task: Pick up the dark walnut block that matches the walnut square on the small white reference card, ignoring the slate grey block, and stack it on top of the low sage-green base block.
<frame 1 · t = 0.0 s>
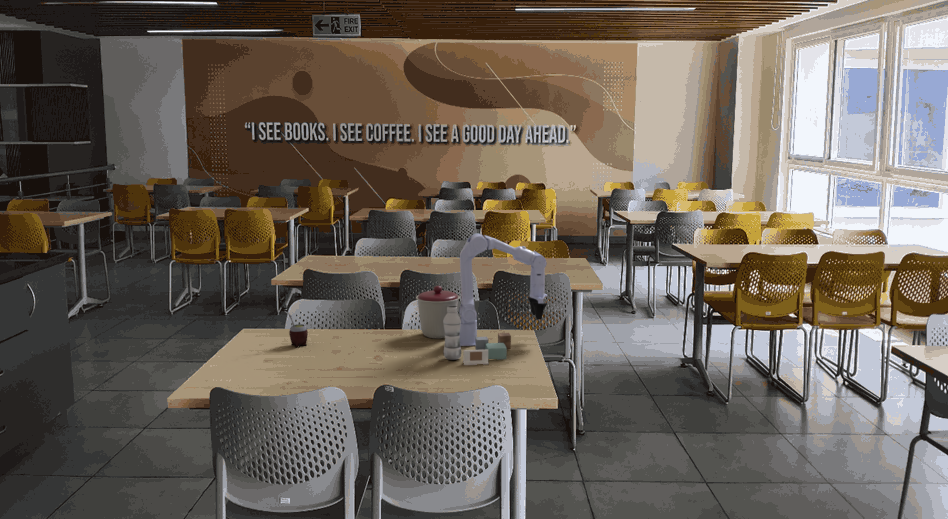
hand: (536, 317, 287), 10 cm above the table, tool pointing down, fingers open, 7 cm apart
reference card: (475, 363, 259), on the table
base block: (495, 357, 268), on the table
grey block: (481, 352, 273), on the table
canister: (438, 335, 296), on the table
walnut block: (504, 348, 279), on the table
mate gourd: (298, 346, 281), on the table
plastic bottle: (452, 359, 264), on the table
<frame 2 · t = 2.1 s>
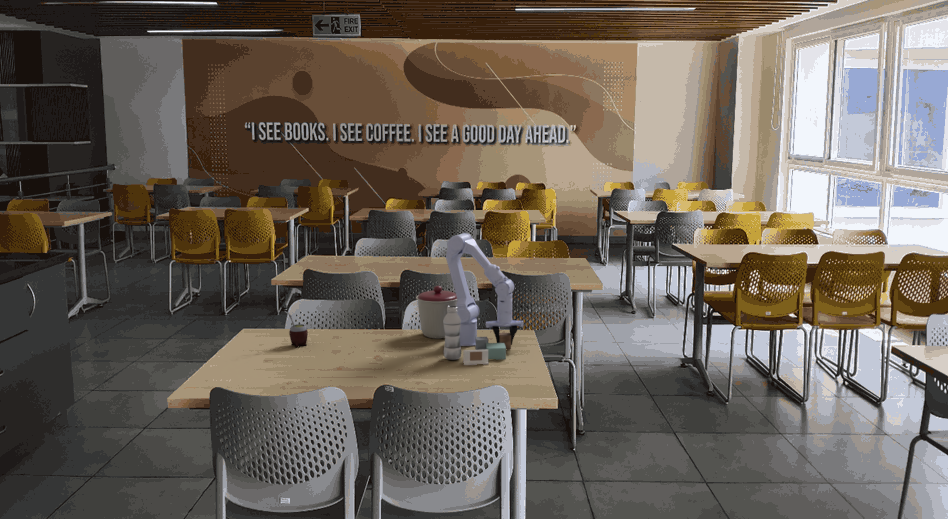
hand: (504, 344, 278), 1 cm above the table, tool pointing down, fingers closed on walnut block, 4 cm apart
walnut block: (504, 348, 279), on the table, touching gripper
everything else where it was.
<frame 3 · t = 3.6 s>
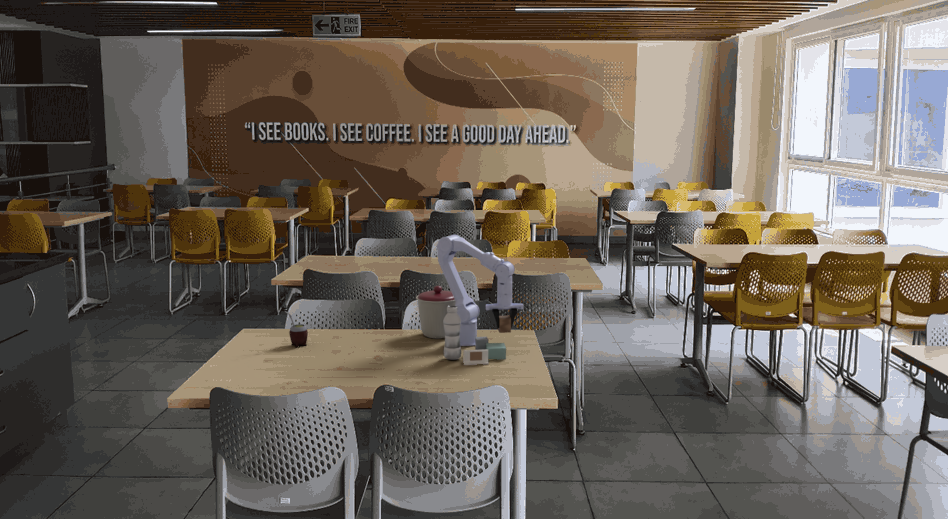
hand: (504, 327, 277), 8 cm above the table, tool pointing down, fingers closed on walnut block, 4 cm apart
walnut block: (504, 331, 277), point 7 cm above the table, touching gripper
everything else where it was.
when the fingers open (7 cm above the table, at t = 5.1 s): walnut block drops 1 cm, resting on base block.
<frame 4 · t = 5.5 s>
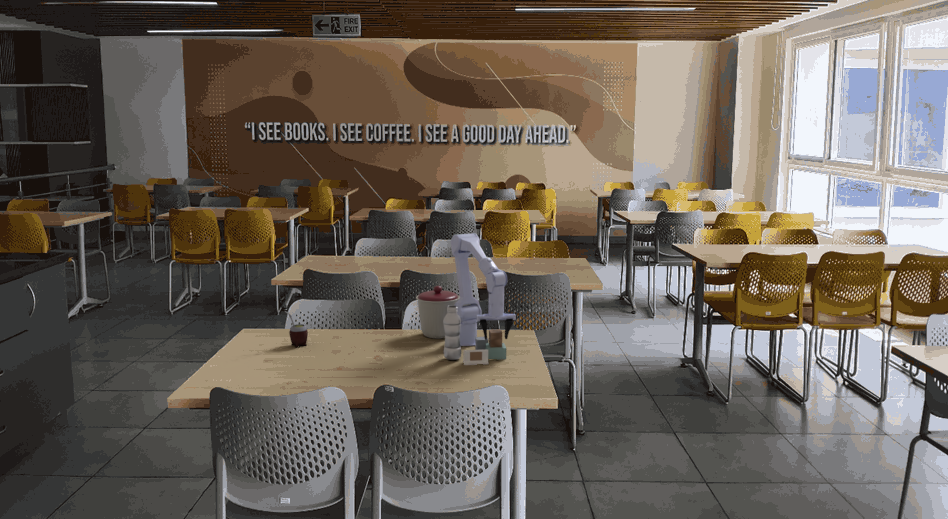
hand: (495, 338, 267), 7 cm above the table, tool pointing down, fingers open, 7 cm apart
base block: (495, 357, 268), on the table, touching walnut block
walnut block: (495, 345, 267), point 4 cm above the table, touching base block
everything else where it was.
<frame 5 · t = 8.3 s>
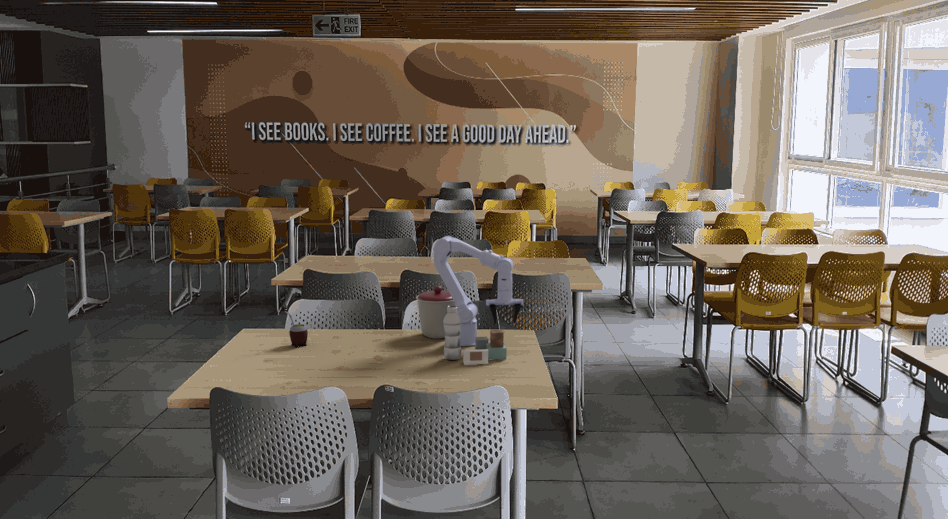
hand: (504, 322, 280), 9 cm above the table, tool pointing down, fingers open, 7 cm apart
base block: (495, 357, 268), on the table
walnut block: (496, 345, 267), point 4 cm above the table
everything else where it was.
at the end: walnut block 0.3 cm off-centre on the base block, point 4.5 cm above the base block's base; walnut block tilted 0°; grey block moved 0.1 cm from its start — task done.
